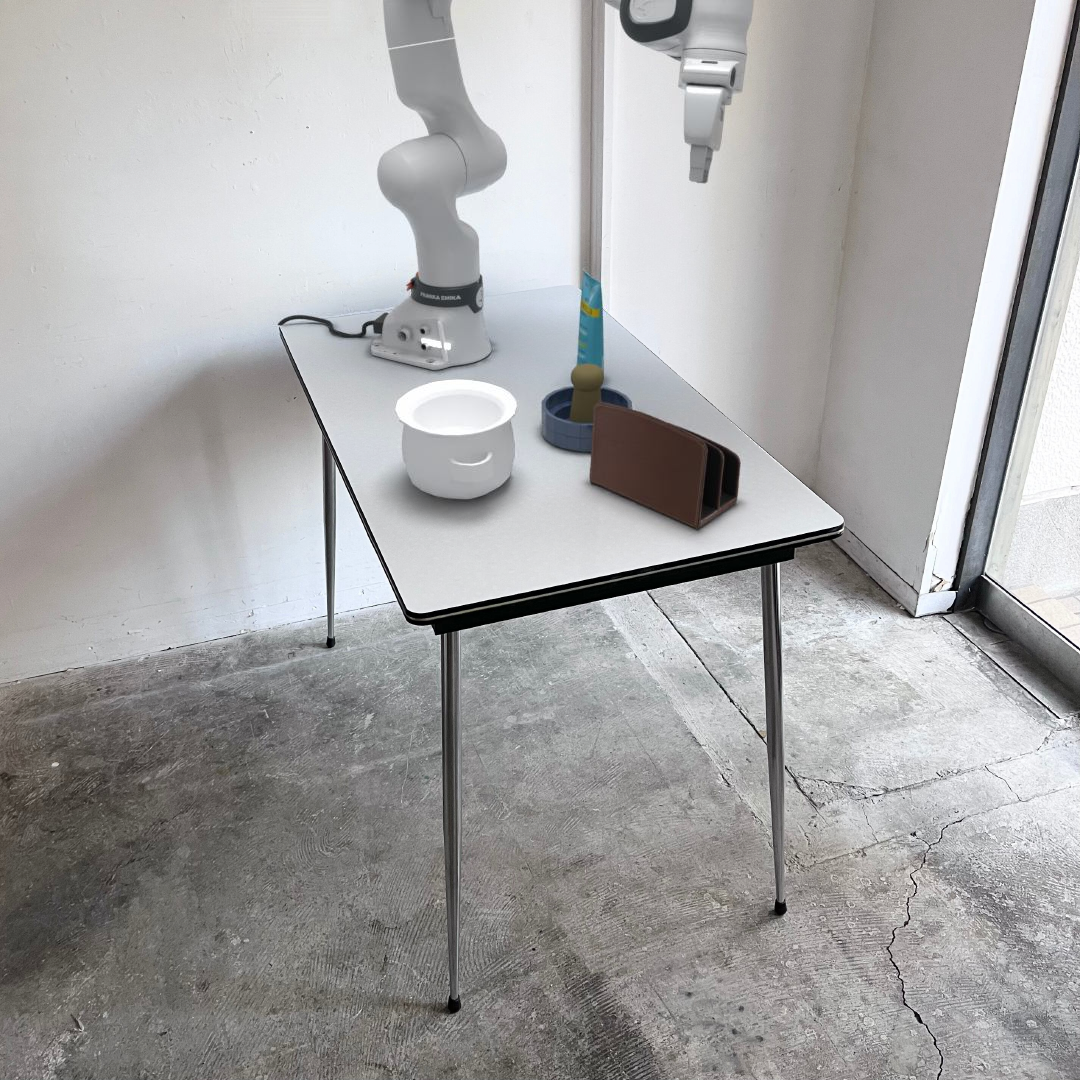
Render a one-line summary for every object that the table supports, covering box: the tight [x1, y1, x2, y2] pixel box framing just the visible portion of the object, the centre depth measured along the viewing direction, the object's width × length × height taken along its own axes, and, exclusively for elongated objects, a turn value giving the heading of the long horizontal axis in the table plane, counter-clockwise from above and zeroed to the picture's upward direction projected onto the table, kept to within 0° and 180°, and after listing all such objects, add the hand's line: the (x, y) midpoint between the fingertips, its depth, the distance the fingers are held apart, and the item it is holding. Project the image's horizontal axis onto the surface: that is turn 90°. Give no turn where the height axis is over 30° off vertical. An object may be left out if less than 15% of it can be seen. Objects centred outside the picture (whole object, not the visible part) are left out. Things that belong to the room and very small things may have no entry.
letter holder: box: [589, 402, 742, 530], centre depth 155 cm, size 10×20×14 cm, turn 47°
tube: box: [576, 268, 605, 374], centre depth 187 cm, size 7×5×19 cm, turn 26°
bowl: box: [540, 385, 634, 452], centre depth 174 cm, size 14×14×5 cm
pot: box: [394, 379, 518, 500], centre depth 159 cm, size 22×17×12 cm
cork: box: [569, 364, 605, 423], centre depth 172 cm, size 6×6×11 cm
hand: (698, 182), depth 153 cm, fingers open, 8 cm apart
